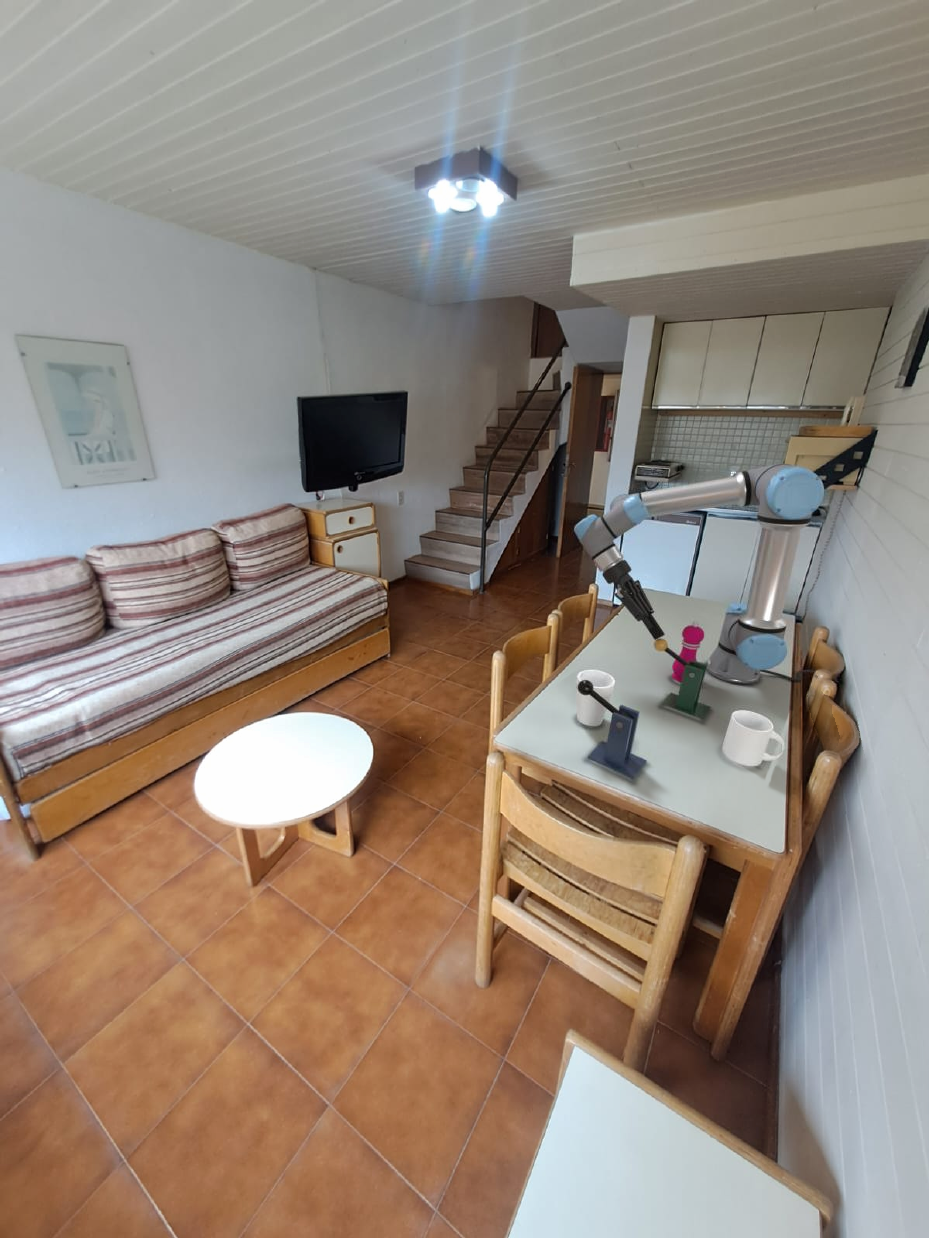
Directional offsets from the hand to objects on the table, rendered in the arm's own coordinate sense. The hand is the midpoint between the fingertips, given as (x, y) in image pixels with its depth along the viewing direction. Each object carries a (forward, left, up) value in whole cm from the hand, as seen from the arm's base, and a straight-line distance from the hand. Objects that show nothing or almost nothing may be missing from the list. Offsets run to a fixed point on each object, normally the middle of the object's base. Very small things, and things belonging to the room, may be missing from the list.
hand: (659, 637), depth 136 cm
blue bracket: (+15, +32, -19) cm, 40 cm away
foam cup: (+19, +16, -19) cm, 31 cm away
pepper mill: (-13, -10, -19) cm, 25 cm away
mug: (-17, +27, -19) cm, 37 cm away
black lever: (+20, +29, -6) cm, 35 cm away
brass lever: (-4, +3, -6) cm, 8 cm away
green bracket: (-9, +6, -19) cm, 21 cm away
